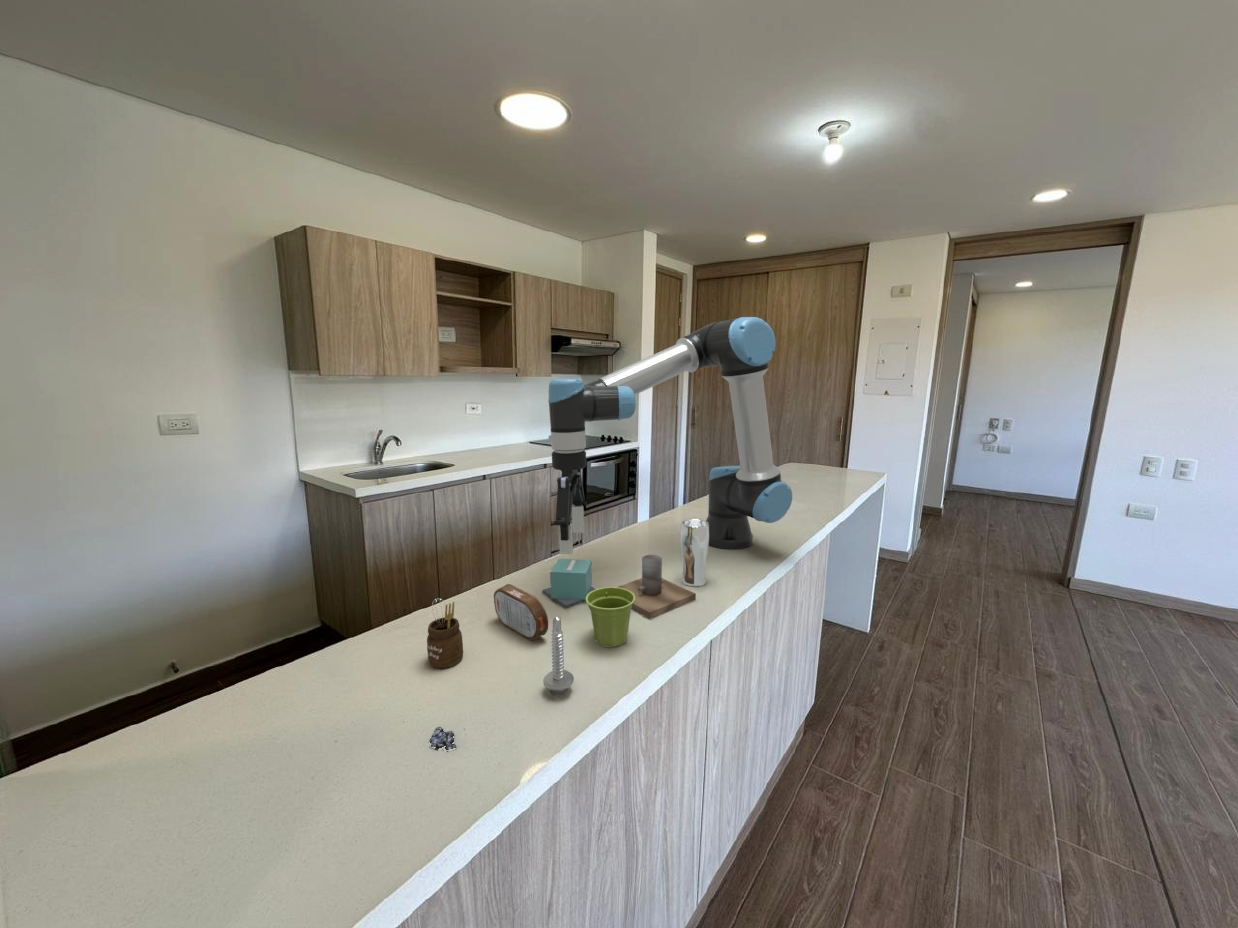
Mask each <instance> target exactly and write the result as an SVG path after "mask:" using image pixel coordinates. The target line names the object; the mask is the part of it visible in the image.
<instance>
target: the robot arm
mask: <svg viewBox="0 0 1238 928" xmlns="http://www.w3.org/2000/svg"><path fill="white" fill-rule="evenodd" d="M776 345H777V344H776V336H775V333H774V331H773V329H772V327H771V326H770V324H768V323H767V322H766V321H765V320H764V319H762V318H760V317H754V316H748V317H747V316H742V317H741V316H740V317H739V318H734V319H733V318H732V319H728V320H722V321H714V322H711V323H709V324H707V325H705V326H703V327H701V328H699V329H697V330H695V331H693V332H690V333H688V334H687V335H686V336H683V337H681V338H678V340H676V342H675V344H674V345H672V346H670V347H667V348H665V349H663V350H661V351H659V352H657V353H654V354H651V355H649V356H647V357H645V358H642V359H641V360H638V361H636V362H634V363H632V364H629V365H626V366H625V367H622V368H621V369H617V370H616V371H613V372H611V373H608V374H606V375H605V376H603V377H599V378H598V379H596V380H593V381H590V382H589V383H587V384H584V380H583V379H581V378H557V379H556V378H555V379H552V380H551V381H549V384H548V399H547V400H548V401H547V402H548V407H549V409H548V410H549V411H548V412H549V421H550V422H549V424H550V435H548V437H547V438H548V439H549V440H550V444H551V445H550V446H551V449H552V450H553V451H552V453H551V466H552V468H553V470H556V471H561V477H557V479H556V481H557V483H556V484H557V489H556V490H557V493H556V506H555V507H556V510H555V511H556V512H555V521H553V524H554V525H553V526H558V545H559V555H573V553H574V549H573V548H574V544H573V534H584V533H585V521H584V520H585V517H584V516H585V515H584V506H587V500H585V499H586V497H585V490H584V486H583V485H584V484H583V478H582V469H584V468H586V467H587V451H585V449H586V448H587V440H586V422H587V423H588V422H597V421H598V422H599V421H600V422H601V421H615V420H616V421H617V420H618V421H621V420H626V419H630V418H632V417H633V416H634V414H635V411H636V408H637V400H636V399H637V398H636V395H639V394H640V393H643V392H644V391H647V390H649V389H651V388H653V387H655V386H657V385H660V384H661V383H664V382H666V381H668V380H670V379H672V378H674V377H676V376H679V375H681V374H683V373H685V372H688V373H694V372H696V371H698V370H701V369H704V368H712V367H720V373H721V374H720V375H721V378H723V379H724V380H726V381H727V383H728V386H729V393H730V400H731V401H730V402H731V409H732V416H733V422H734V430H735V437H736V443H737V444H736V445H737V451H738V459H739V465H725V466H716V467H713V468H711V470H710V472H709V477H708V508H707V509H708V514H707V518H706V520H705V521H707V522H708V523H709V547H710V546H711V547H714V548H719V549H726V550H727V549H728V550H730V549H731V550H735V549H743V548H748V547H750V546H752V545H753V539H754V538H753V537H754V536H753V532H752V529H751V526H750V522H749V519H748V518H749V517H750V518H752V519H754V520H756V521H757V522H763V523H765V524H772V523H776V522H778V521H779V520H781V519H782V518H783V517H785V515H787V513H788V511H789V510H790V508H791V505H792V503H793V490H792V488H791V487H790V485H788V484H787V483H786V482H783V481H782V476H781V470H780V468H779V467H778V466H776V465H775V464H774V459H773V450H772V441H771V436H770V435H771V434H770V425H769V417H768V407H767V400H766V391H765V384H764V375H765V374H766V373H767V372H768V370H769V364H768V362H770V361H771V359H772V358H773V356H774V353H775V352H776Z"/></svg>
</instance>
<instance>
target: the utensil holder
mask: <svg viewBox="0 0 1238 928" xmlns="http://www.w3.org/2000/svg"><path fill="white" fill-rule="evenodd" d="M437 601H439V603H440V607H441V609H443V606H442V602H443V603H444V605H445V606H444V608H445V609H444V610H445V611H444V614H443V612H441V615H442V616H441V617H439V615H438V613H439V612H438V609H437V607H435V609H436V616H437V618H436V616H435V614H434V612H432V615H433V618H434V620H433V621H430V623H429V624H428V626H427V627H428V628H427V637H426V651H427V658H428V659H427V661H428V663H429V666H431V667H432V668H434V667H435V669H439V668H442V669H447V667H448V668H452V667H455V665H458V664H459V663H460V662H461V661H462V659H463V657H464V646H463V645H464V643H463V634H462V631H461V629H460V622H459V620H458V619H457V618H455V617H454V616H455V602H454V601H452V603H451V602H449V603H448V604H446V602H445V600H444V599H442V598H441V597H440V598H439V597H438V598H437V599H434V600H433V602H432V604H431V610H432V611H434V607H433V606H434V605H433V604H434V602H437ZM451 666H452V667H451Z"/></svg>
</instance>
